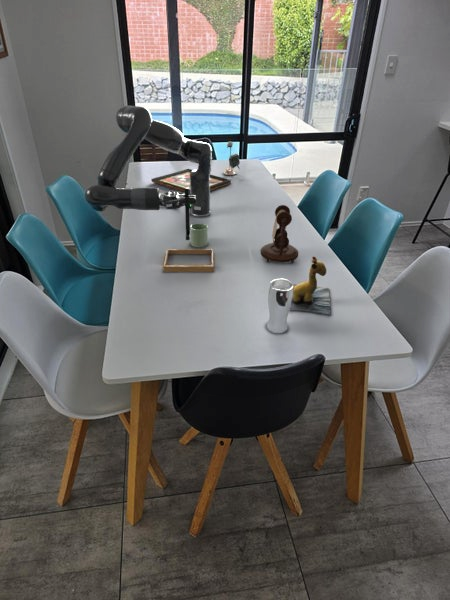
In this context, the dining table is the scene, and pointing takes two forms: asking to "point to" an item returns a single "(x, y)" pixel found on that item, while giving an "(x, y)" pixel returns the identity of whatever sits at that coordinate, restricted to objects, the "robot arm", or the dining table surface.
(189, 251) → the oak tray
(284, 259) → the scroll
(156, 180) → the religious icon
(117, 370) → the dining table surface
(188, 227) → the black rectangular stick
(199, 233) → the pen cup
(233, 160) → the plant with pod
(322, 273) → the stuffed giraffe
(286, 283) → the beer glass
